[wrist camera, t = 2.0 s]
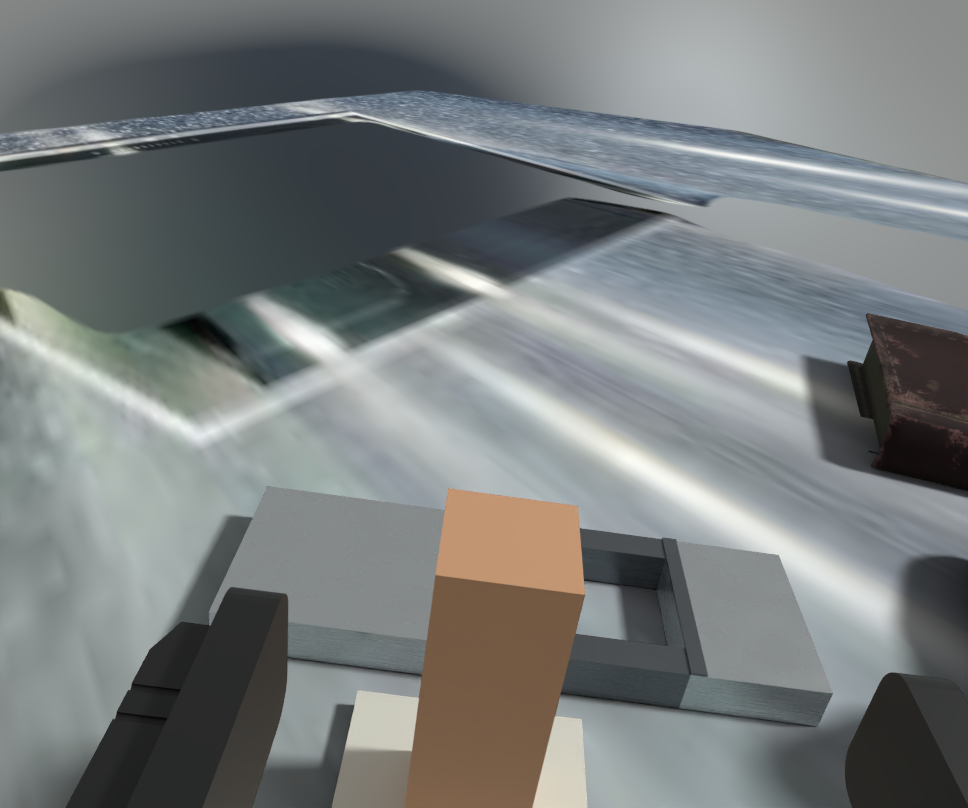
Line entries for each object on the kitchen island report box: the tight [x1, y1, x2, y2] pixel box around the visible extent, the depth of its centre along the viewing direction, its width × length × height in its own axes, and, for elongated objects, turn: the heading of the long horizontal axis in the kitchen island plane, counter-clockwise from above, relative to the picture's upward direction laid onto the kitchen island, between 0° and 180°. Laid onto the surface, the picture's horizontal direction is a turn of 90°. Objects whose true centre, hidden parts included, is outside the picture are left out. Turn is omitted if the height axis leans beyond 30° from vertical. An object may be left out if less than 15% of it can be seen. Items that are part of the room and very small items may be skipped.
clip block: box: [404, 488, 585, 808], centre depth 27 cm, size 4×4×12 cm
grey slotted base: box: [209, 486, 833, 726], centre depth 40 cm, size 26×9×2 cm, turn 87°
